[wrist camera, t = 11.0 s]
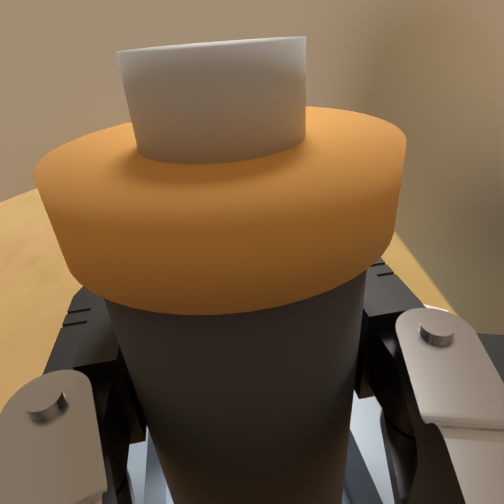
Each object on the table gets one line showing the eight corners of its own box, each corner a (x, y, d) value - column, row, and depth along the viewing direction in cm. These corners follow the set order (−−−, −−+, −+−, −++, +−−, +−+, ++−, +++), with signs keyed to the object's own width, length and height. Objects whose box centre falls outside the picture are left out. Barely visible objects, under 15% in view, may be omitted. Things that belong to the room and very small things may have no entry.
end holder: (439, 625, 10) (470, 571, 8) (115, 717, 9) (68, 678, 7) (329, 378, 17) (333, 320, 15) (141, 415, 16) (121, 357, 14)
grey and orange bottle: (142, 557, 10) (-101, 70, 4) (236, 416, 14) (183, 41, 8) (307, 691, 8) (330, 53, 2) (369, 481, 12) (448, 23, 5)
